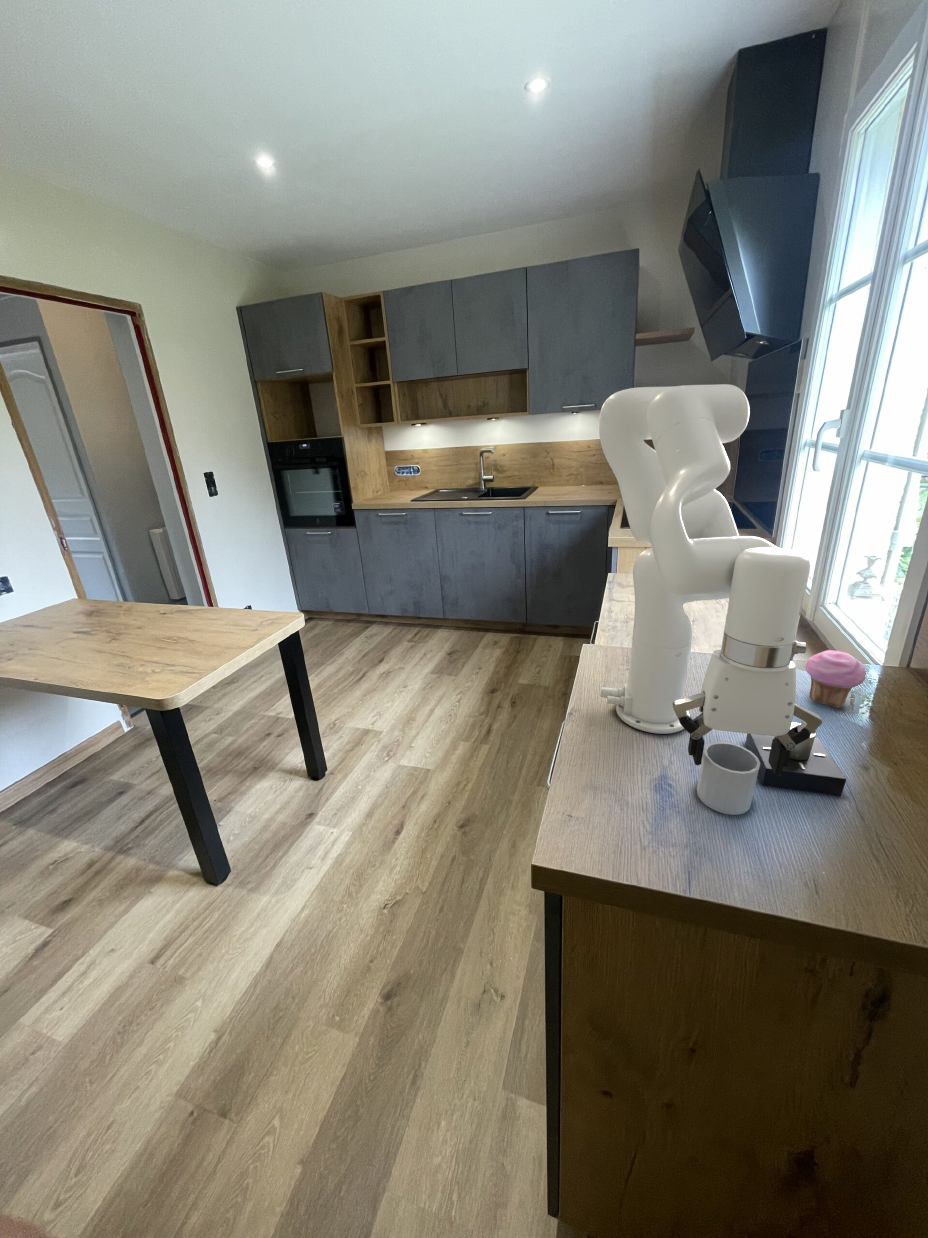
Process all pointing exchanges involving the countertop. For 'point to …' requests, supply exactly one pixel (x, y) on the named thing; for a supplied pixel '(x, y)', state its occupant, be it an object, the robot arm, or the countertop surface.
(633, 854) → the countertop surface
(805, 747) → the oven knob
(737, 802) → the pot
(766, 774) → the panel
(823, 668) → the cupcake
